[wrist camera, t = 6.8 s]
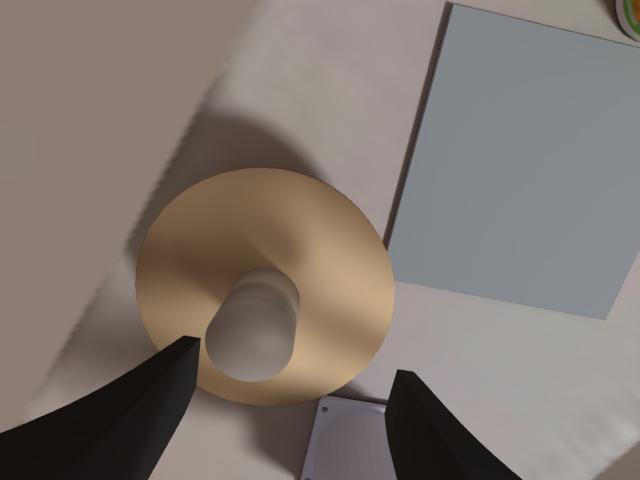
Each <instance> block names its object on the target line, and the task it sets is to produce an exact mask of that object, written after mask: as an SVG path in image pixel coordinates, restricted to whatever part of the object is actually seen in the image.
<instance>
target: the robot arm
mask: <svg viewBox="0 0 640 480" xmlns="http://www.w3.org/2000/svg"><path fill="white" fill-rule="evenodd" d="M200 343H201V338H198V337H192V336H186V335H183V336H182V337H180V338H179V339H177V340H176V341H174V342H173V343H171V344H170V345H168V346H167V347H165V348H164V349H163V350H161V351H160V352H158V353H157V354H155V355H154V356H152V357H151V358H149V359H148V360H146V361H145V362H143V363H142V364H140V365H138V366H137V367H135V368H134V369H132V370H131V371H129V372H127V373H126V374H124V375H122V376H121V377H119V378H117V379H115V380H114V381H112V382H110V383H109V384H107V385H105V386H103V387H102V388H100V389H98V390H96V391H94V392H92V393H90V394H89V395H87V396H84V397H82V398H80V399H78V400H76V401H74V402H72V403H70V404H68V405H66V406H64V407H62V408H60V409H57V410H55V411H53V412H50V413H48V414H46V415H44V416H41V417H39V418H37V419H34V420H32V421H30V422H27V423H25V424H23V425H20V426H18V427H15V428H13V429H10V430H7V431H5V432H2V433H0V480H148V479H149V477H150V475H151V473H152V471H153V470H154V468H155V466H156V464H157V462H158V461H159V459H160V457H161V455H162V454H163V452H164V450H165V448H166V446H167V445H168V443H169V441H170V439H171V438H172V436H173V434H174V432H175V430H176V428H177V427H178V425H179V423H180V421H181V419H182V418H183V416H184V414H185V412H186V409H187V407H188V405H189V402H190V400H191V398H192V395H193V393H194V390H195V388H196V385H197V374H198V364H199V353H200ZM323 407H327V408H326V409H324V408H323ZM300 480H522V479H521V478H520V477H519V476H518V475H516V474H515V473H514V472H513V471H512V470H510V469H509V468H508V467H507V466H506V465H505V464H503V463H502V462H501V461H500V460H499V459H498V458H497V457H496V456H494V455H493V454H492V453H491V452H490V451H489V450H488V449H487V448H486V447H485V446H483V445H482V444H481V443H480V442H479V441H478V440H477V439H476V438H475V437H474V436H473V435H472V434H471V433H470V432H469V431H468V430H467V429H466V428H465V427H464V426H463V425H462V424H461V423H460V422H459V421H458V420H457V419H456V417H455V416H454V415H453V414H452V413H451V412H450V411H449V410H448V409H447V408H446V407H445V406H444V405H443V403H442V402H441V401H440V400H439V399H438V398H437V397H436V396H435V395H434V393H433V392H432V391H431V390H430V389H429V388H428V387H427V386H426V384H425V383H424V382H423V381H422V380H421V379H420V378H419V377H418V376H417V375H416V374H415V373H414V372H412V371H406V370H399V369H397V372H396V376H395V379H394V382H393V386H392V389H391V392H390V396H389V399H388V402H387V405H381V404H375V403H369V402H363V401H357V400H351V399H346V398H340V397H334V396H328V395H325V396H322V397H321V398H320V401H319V405H318V409H317V413H316V417H315V421H314V425H313V429H312V434H311V438H310V442H309V446H308V450H307V454H306V458H305V463H304V467H303V471H302V475H301V479H300Z"/></svg>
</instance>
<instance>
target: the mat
mask: <svg viewBox="0 0 640 480" xmlns="http://www.w3.org/2000/svg"><path fill="white" fill-rule="evenodd" d="M639 250H640V48H637V47H633V46H629V45H624V44H620V43H616V42H612V41H608V40H603V39H599V38H595V37H591V36H587V35H583V34H578V33H574V32H570V31H566V30H562V29H557V28H553V27H549V26H545V25H541V24H536V23H532V22H528V21H524V20H520V19H516V18H511V17H507V16H503V15H499V14H495V13H490V12H486V11H482V10H478V9H474V8H469V7H465V6H461V5H457V4H453V6H452V7H451V9H450V13H449V17H448V20H447V24H446V28H445V32H444V35H443V39H442V43H441V47H440V50H439V54H438V58H437V61H436V65H435V69H434V73H433V76H432V80H431V84H430V88H429V91H428V95H427V99H426V103H425V106H424V110H423V114H422V117H421V121H420V125H419V129H418V132H417V136H416V140H415V144H414V147H413V151H412V155H411V159H410V162H409V166H408V170H407V173H406V177H405V181H404V185H403V188H402V192H401V196H400V200H399V203H398V207H397V211H396V215H395V218H394V222H393V226H392V230H391V233H390V237H389V241H388V244H387V248H386V251H387V253H388V257H389V260H390V263H391V267H392V271H393V278H394V280H396V281H401V282H407V283H412V284H417V285H422V286H428V287H433V288H438V289H443V290H449V291H454V292H459V293H464V294H470V295H475V296H480V297H485V298H491V299H496V300H501V301H506V302H511V303H517V304H522V305H527V306H532V307H538V308H543V309H548V310H553V311H559V312H564V313H569V314H574V315H580V316H585V317H590V318H595V319H601V320H606V318H607V316H608V314H609V312H610V309H611V307H612V305H613V303H614V301H615V299H616V297H617V295H618V293H619V291H620V289H621V287H622V285H623V283H624V281H625V279H626V277H627V275H628V272H629V270H630V268H631V266H632V264H633V262H634V260H635V258H636V256H637V254H638V252H639Z"/></svg>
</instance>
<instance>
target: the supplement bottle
mask: <svg viewBox="0 0 640 480" xmlns="http://www.w3.org/2000/svg"><path fill="white" fill-rule="evenodd" d="M616 12H617V16H618V20H619V22H620V24H621V26H622V28H623V29H624V31H625V32H626V33H627V34H628V35H629V36H630V37H632V38H633V39H635V40H637V41H639V42H640V0H616Z"/></svg>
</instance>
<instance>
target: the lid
mask: <svg viewBox="0 0 640 480" xmlns="http://www.w3.org/2000/svg"><path fill="white" fill-rule="evenodd" d="M135 287H136V297H137V303H138V307H139V312H140V316H141V318H142V321H143V323H144V326H145V329H146V331H147V333H148V335H149V336H150V338H151V340H152V342H153V344H154V345H155V346H156V348H157V349H158V351H159V352H160V351H161V350H163V349H164V348H165V347H167V346H168V345H170V344H171V343H173V342H174V341H176V340H177V339H179V338H180V337H182V336H183V335H186V336H192V337H198V338H201V343H200V353H199V364H198V374H197V385H196V386H198V387H200V388H201V389H203V390H205V391H207V392H209V393H211V394H213V395H216V396H218V397H221V398H223V399H226V400H230V401H233V402H237V403H241V404H247V405H253V406H267V407H275V406H288V405H294V404H301V403H304V402H308V401H311V400H315V399H317V398H320V397H322V396H325V395H327V394H329V393H331V392H333V391H335V390H337V389H338V388H340V387H342V386H343V385H345V384H346V383H348V382H349V381H350V380H352V379H353V378H354V377H355V376H356V375H358V374H359V373H360V372H361V371H362V370H363V369H364V368H365V367H366V366H367V364H368V363H369V362H370V361H371V360H372V358H373V357H374V356H375V354H376V353H377V351H378V349H379V348H380V346H381V345H382V343H383V340H384V338H385V336H386V334H387V331H388V329H389V325H390V322H391V318H392V314H393V307H394V278H393V271H392V267H391V263H390V260H389V257H388V253H387V251H386V249H385V247H384V245H383V242H382V240H381V238H380V236H379V235H378V233H377V232H376V230H375V229H374V227H373V225H372V224H371V222H370V221H369V220H368V219H367V217H366V216H365V215H364V214H363V213H362V211H361V210H360V209H359V208H358V207H357V206H356V205H355V204H354V203H353V202H352V201H351V200H349V199H348V198H347V197H346V196H345V195H343V194H342V193H341V192H339V191H338V190H336V189H335V188H333V187H332V186H330V185H328V184H326V183H324V182H322V181H320V180H318V179H316V178H314V177H311V176H308V175H305V174H302V173H299V172H295V171H290V170H286V169H281V168H266V167H260V168H245V169H240V170H235V171H230V172H226V173H221V174H219V175H216V176H213V177H210V178H207V179H205V180H203V181H201V182H199V183H197V184H195V185H193V186H191V187H189V188H188V189H187V190H185V191H184V192H182V193H181V194H180V195H178V196H177V197H176V198H174V199H173V200H172V201H171V202H170V203H169V204H168V205H167V206H166V207H165V208H164V209H163V210H162V212H161V213H160V214H159V216H158V217H157V218H156V219H155V221H154V222H153V223H152V225H151V227H150V229H149V231H148V233H147V235H146V236H145V238H144V241H143V244H142V247H141V250H140V252H139V257H138V262H137V267H136V281H135Z"/></svg>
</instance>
